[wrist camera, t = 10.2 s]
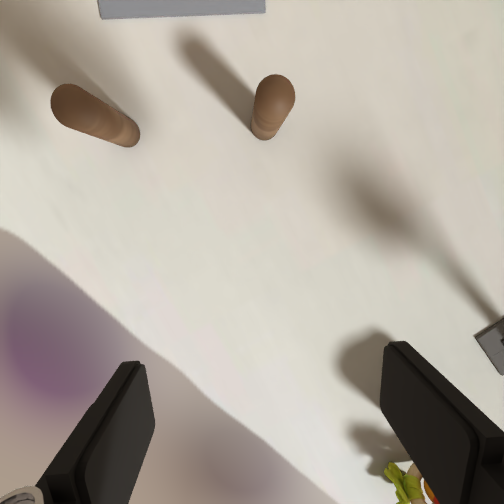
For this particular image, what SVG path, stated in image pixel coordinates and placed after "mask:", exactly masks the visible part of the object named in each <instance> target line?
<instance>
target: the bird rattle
mask: <svg viewBox="0 0 504 504" xmlns="http://www.w3.org/2000/svg"><path fill="white" fill-rule="evenodd" d="M384 474H385V475H386V476H387V477H388V478H389V479H390V480H391V481H392V482H393V483H394V485H395V487H396V489H397V490H396V492H395V493H396V496H397V498H398V499H399V501H400V502H398V503H396V504H410V502H411V504H427V503H426V502H425V497H424V495H423V491H422V489H421V482H420V481H421V479H422V477H423V476H422V475H421V473H420V472H419V470H418V469H417V467H416V465H415V464H414V463H413V464H412V465H411V466H410V468H409V470H408V472H407V474H405V475H404V476H402V473H401V471H400V470H399V468H398V466H397V465H396V464H394V463H391V462H389V464H388V469H387V468H385V470H384ZM424 489H425V491H426V494H427V496H428V497H429V499H430V500H431V501H432V502H433V503H432V504H440V503H439V502H438V500H437V499H436V497H435V496H434V494H433V492H432V491H431V489H430V488H429V486H428V484H427V483H426V481H425V480H424Z"/></svg>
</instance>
